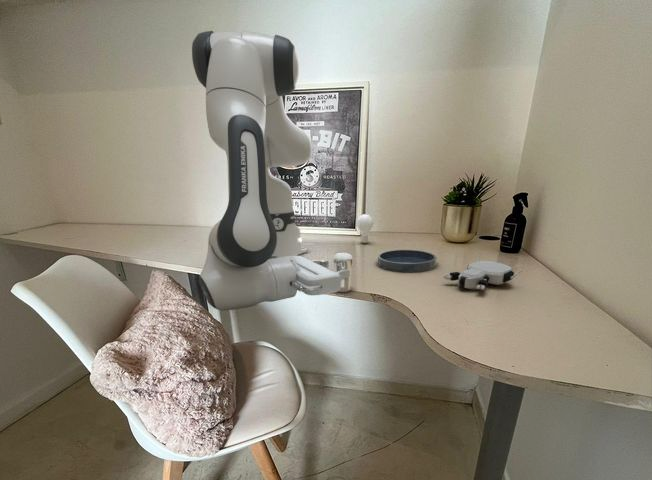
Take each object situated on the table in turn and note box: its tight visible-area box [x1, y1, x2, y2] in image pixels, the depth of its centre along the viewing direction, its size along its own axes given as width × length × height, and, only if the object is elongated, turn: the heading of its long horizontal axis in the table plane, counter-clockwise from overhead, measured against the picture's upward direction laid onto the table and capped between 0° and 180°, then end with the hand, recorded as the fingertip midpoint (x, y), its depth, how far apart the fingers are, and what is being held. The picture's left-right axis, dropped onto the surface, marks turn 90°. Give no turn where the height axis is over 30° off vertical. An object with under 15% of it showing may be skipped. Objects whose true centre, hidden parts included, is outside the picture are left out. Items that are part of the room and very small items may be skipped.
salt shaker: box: [332, 249, 357, 293], centre depth 79 cm, size 4×5×10 cm
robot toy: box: [443, 259, 523, 291], centre depth 82 cm, size 12×4×15 cm
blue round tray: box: [377, 249, 438, 273], centre depth 101 cm, size 17×17×2 cm
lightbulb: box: [356, 213, 374, 244], centre depth 128 cm, size 6×6×11 cm
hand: (337, 267), depth 78 cm, fingers open, 8 cm apart
